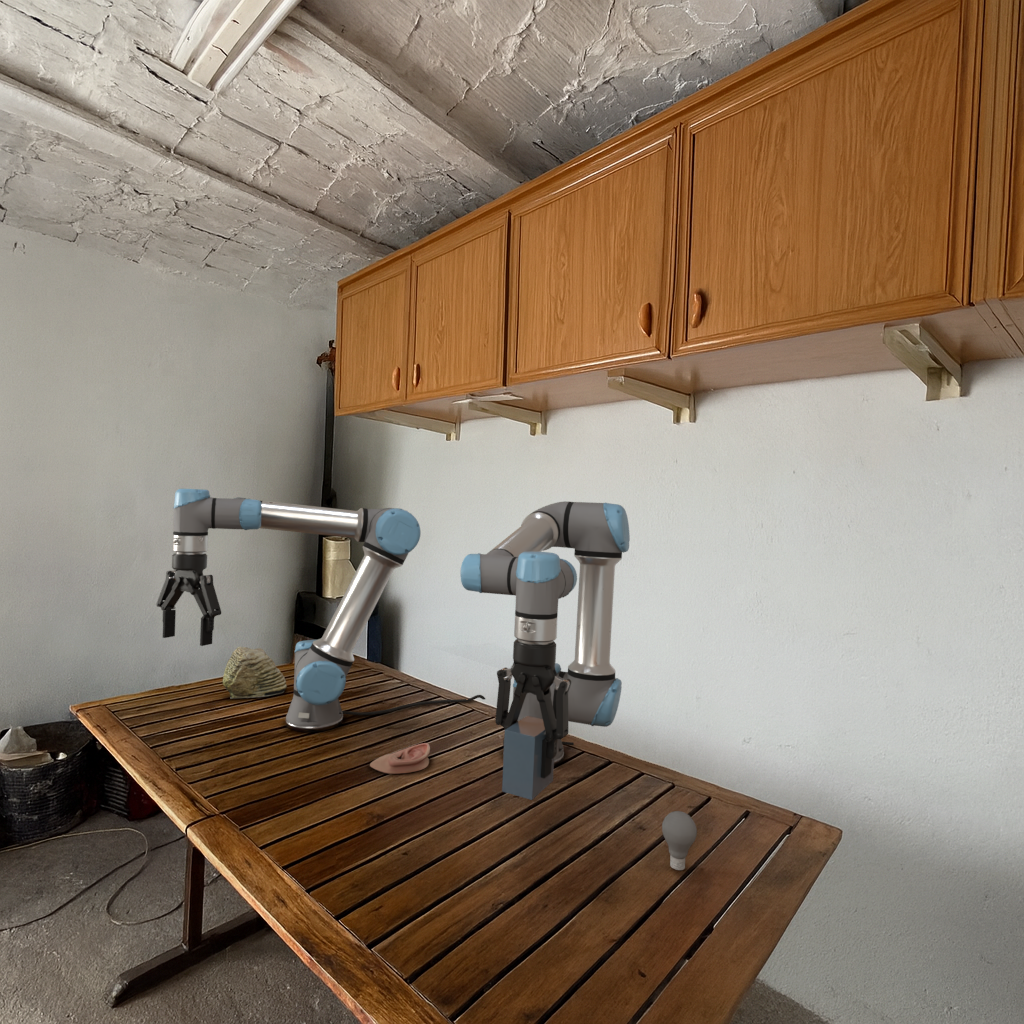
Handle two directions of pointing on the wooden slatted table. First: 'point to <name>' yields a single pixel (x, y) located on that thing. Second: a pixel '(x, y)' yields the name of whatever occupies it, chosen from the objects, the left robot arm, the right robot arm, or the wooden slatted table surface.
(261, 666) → the fossil
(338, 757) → the wooden slatted table surface
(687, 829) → the light bulb
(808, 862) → the wooden slatted table surface
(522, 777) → the brick
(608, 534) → the right robot arm
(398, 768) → the anatomical model
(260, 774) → the wooden slatted table surface
